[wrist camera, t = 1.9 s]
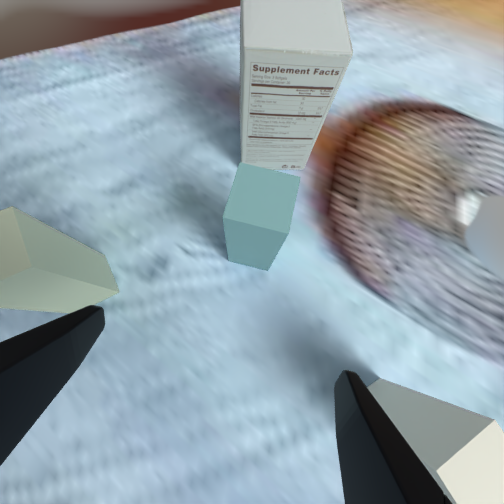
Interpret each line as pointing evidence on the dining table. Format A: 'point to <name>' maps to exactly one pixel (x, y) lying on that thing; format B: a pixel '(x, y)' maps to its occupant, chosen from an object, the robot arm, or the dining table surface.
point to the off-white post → (448, 442)
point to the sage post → (48, 268)
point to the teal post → (258, 215)
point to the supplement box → (288, 77)
